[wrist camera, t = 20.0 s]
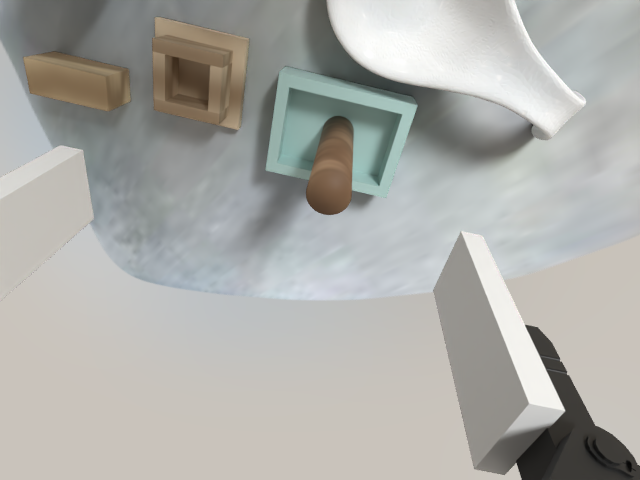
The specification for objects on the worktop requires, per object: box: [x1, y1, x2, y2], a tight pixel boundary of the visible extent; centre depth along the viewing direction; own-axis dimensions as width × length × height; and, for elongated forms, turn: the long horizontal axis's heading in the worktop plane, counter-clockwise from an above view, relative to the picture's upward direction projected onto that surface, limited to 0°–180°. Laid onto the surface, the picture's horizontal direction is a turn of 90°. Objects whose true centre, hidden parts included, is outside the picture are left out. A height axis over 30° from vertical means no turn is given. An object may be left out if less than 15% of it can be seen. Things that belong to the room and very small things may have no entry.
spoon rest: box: [326, 0, 586, 140], centre depth 30 cm, size 24×12×7 cm, turn 59°
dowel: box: [306, 116, 354, 215], centre depth 31 cm, size 3×3×14 cm
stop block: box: [23, 51, 131, 111], centre depth 36 cm, size 3×7×4 cm, turn 78°
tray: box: [265, 66, 418, 198], centre depth 37 cm, size 9×12×3 cm
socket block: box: [152, 17, 249, 130], centre depth 35 cm, size 8×8×4 cm
